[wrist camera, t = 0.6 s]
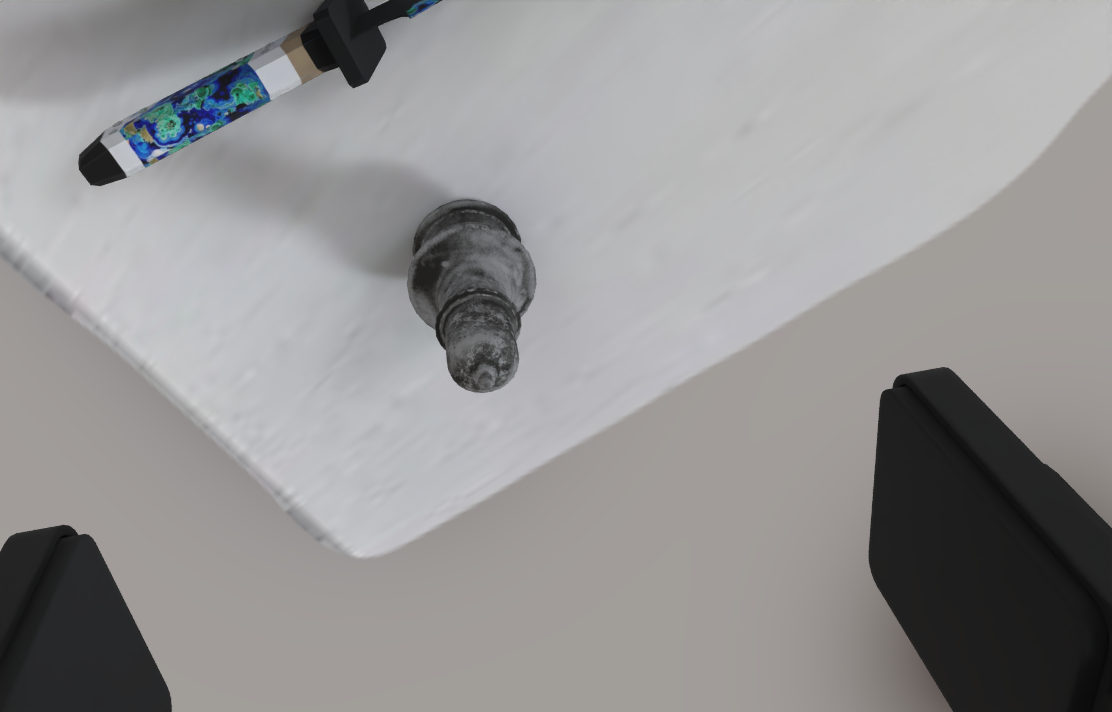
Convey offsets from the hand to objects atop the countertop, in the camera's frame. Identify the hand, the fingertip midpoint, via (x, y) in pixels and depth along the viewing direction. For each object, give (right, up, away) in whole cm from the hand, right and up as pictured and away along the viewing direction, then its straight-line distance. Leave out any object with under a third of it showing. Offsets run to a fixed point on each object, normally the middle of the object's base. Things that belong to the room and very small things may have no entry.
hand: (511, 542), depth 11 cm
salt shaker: (-4, +7, +35) cm, 36 cm away
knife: (-5, +18, +28) cm, 33 cm away
